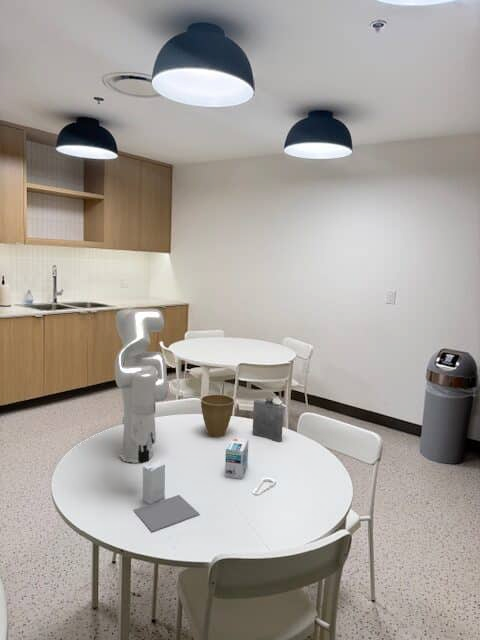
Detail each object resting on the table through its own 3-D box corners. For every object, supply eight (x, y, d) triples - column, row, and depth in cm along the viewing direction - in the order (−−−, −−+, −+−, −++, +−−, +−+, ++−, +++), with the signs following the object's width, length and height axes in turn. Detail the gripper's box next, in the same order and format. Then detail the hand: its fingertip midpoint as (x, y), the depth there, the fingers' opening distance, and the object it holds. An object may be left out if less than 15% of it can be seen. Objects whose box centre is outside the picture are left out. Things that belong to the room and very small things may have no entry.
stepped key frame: (265, 501, 150) (265, 496, 149) (251, 497, 151) (251, 492, 151) (277, 481, 161) (277, 477, 161) (264, 478, 163) (264, 474, 163)
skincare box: (156, 493, 150) (157, 459, 148) (165, 498, 147) (165, 463, 145) (141, 500, 145) (141, 465, 143) (150, 506, 142) (150, 470, 140)
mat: (133, 510, 139) (133, 509, 139) (179, 495, 149) (179, 494, 149) (151, 532, 129) (151, 531, 129) (199, 515, 138) (199, 513, 138)
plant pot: (232, 441, 193) (234, 405, 191) (198, 439, 193) (199, 404, 191) (233, 427, 208) (234, 394, 206) (201, 426, 208) (202, 393, 206)
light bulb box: (242, 479, 161) (243, 451, 159) (224, 477, 162) (225, 449, 161) (247, 466, 171) (249, 439, 170) (230, 463, 173) (231, 437, 171)
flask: (255, 432, 204) (257, 394, 201) (283, 440, 197) (285, 400, 194) (251, 434, 201) (252, 396, 198) (279, 442, 194) (282, 402, 191)
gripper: (124, 404, 152) (124, 456, 154) (142, 417, 140) (142, 473, 142) (144, 400, 156) (144, 451, 158) (164, 412, 144) (164, 467, 146)
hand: (143, 461), depth 150 cm, fingers closed
